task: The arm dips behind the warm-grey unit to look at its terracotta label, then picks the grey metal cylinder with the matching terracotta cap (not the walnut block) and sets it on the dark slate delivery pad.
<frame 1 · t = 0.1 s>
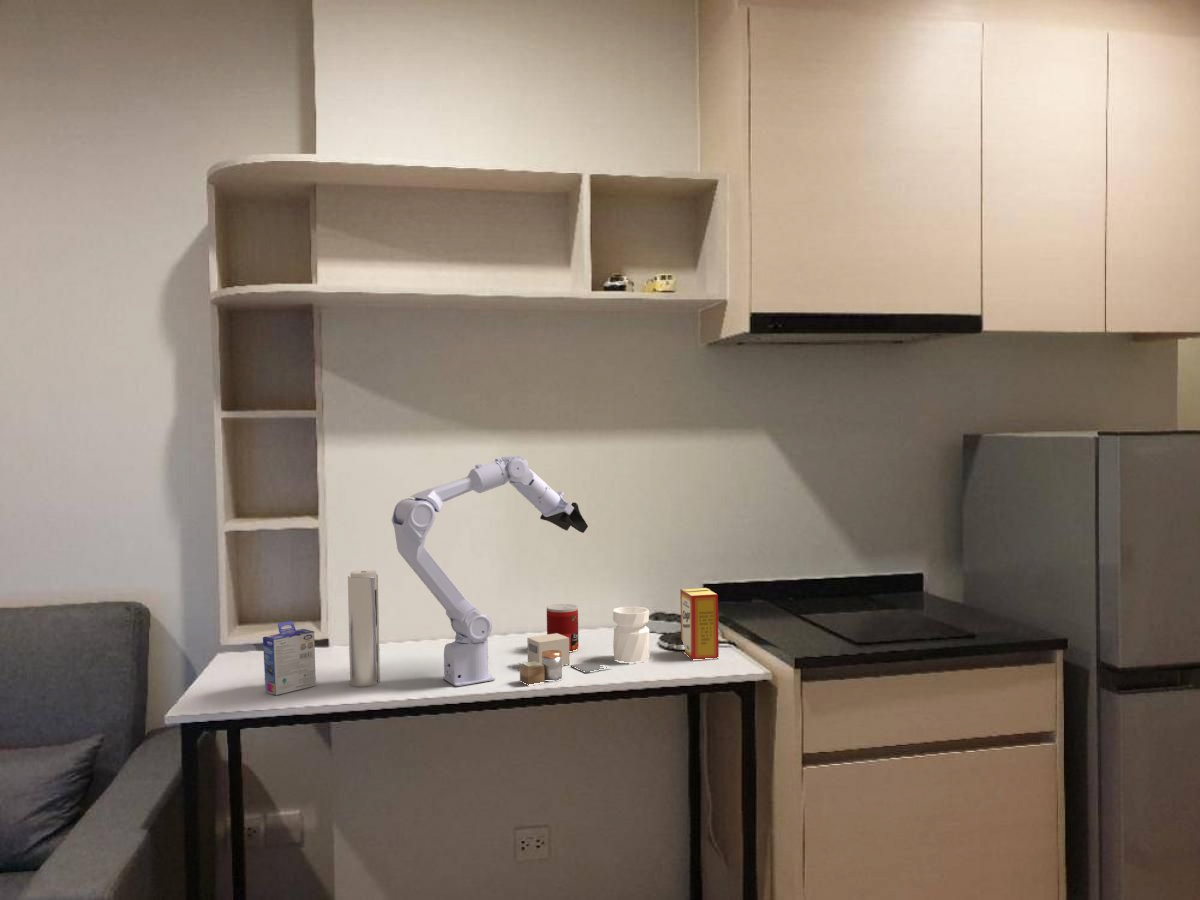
hand: (576, 528, 214), 32 cm above the table, tool tilted 50°, fingers open, 7 cm apart
walnut block: (532, 683, 197), on the table
delivery pad: (591, 667, 208), on the table
unit: (548, 665, 211), on the table
baking soda box: (699, 655, 219), on the table
white faceted vase: (631, 660, 215), on the table
ink cartridge box: (290, 689, 195), on the table
canned food: (562, 650, 226), on the table
beige tall cylinder: (365, 683, 199), on the table
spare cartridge: (552, 679, 199), on the table
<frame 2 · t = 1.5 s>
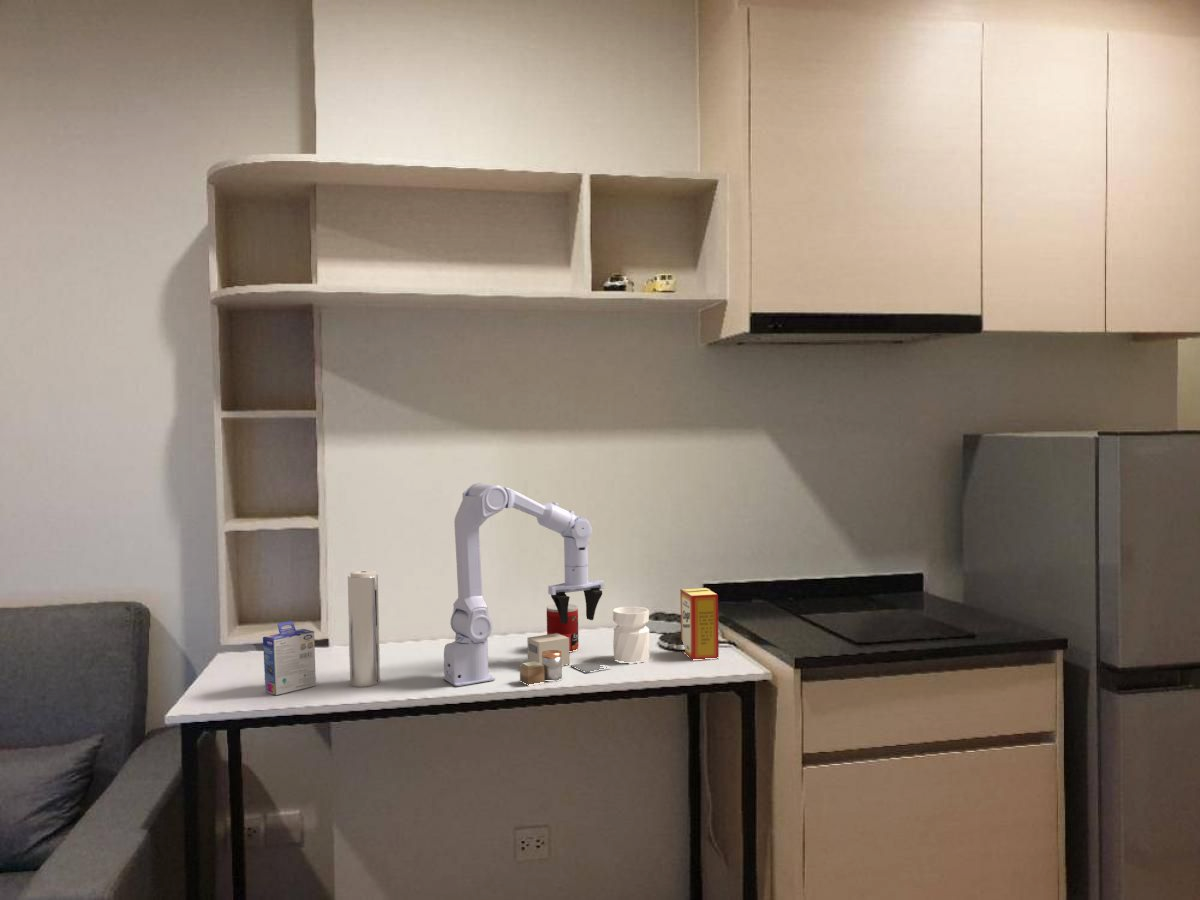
hand: (577, 621, 215), 9 cm above the table, tool pointing down, fingers open, 7 cm apart
nothing on the table moved.
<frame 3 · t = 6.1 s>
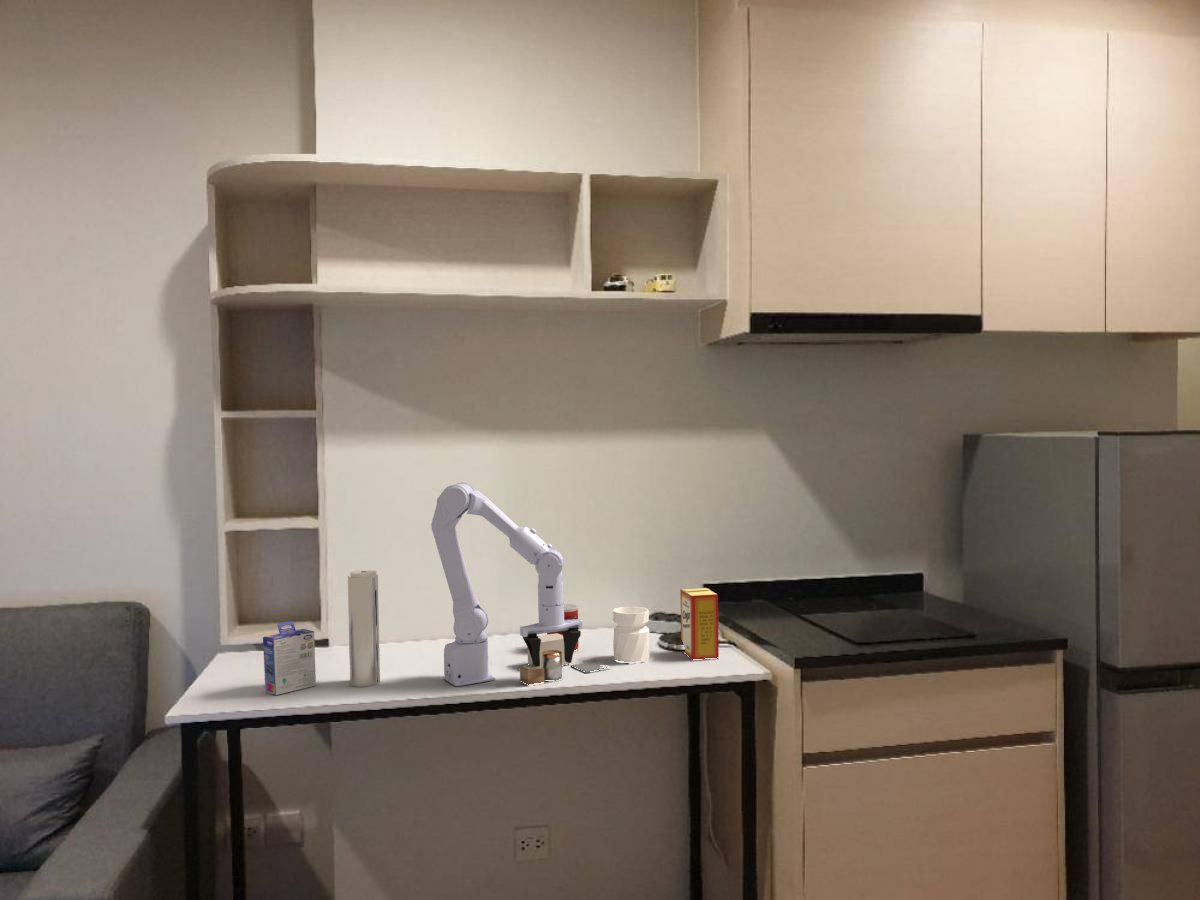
hand: (552, 664, 199), 3 cm above the table, tool pointing down, fingers open, 7 cm apart
walnut block: (532, 685, 197), on the table, touching gripper
everything else where it was.
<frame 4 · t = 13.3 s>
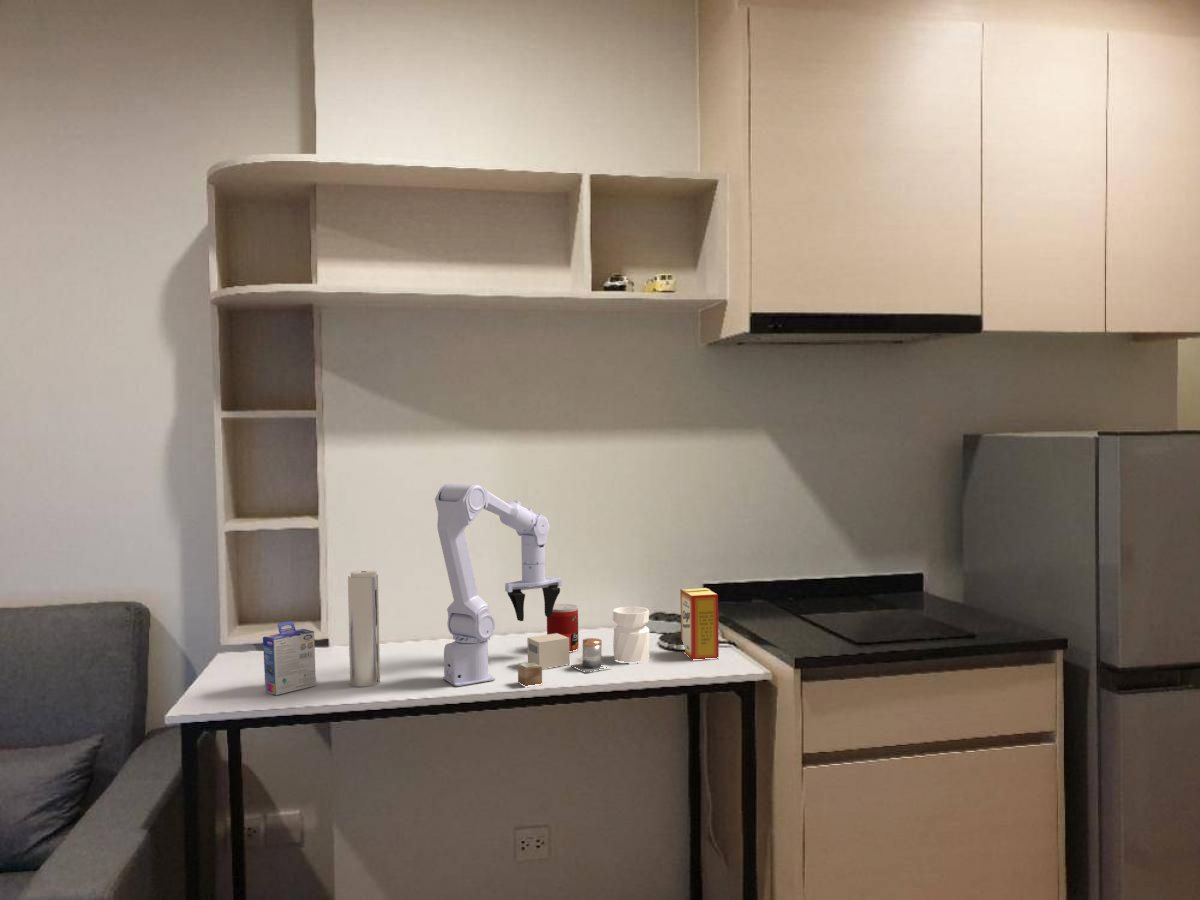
hand: (534, 618, 217), 10 cm above the table, tool pointing down, fingers open, 7 cm apart
walnut block: (530, 684, 196), on the table
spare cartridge: (591, 665, 208), resting on delivery pad
everything else where it was.
at the end: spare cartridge inside the target area on the delivery pad (0.2 cm from its centre), point 0.5 cm above the delivery pad's base; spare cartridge tilted 2°; the gripper is holding nothing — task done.
